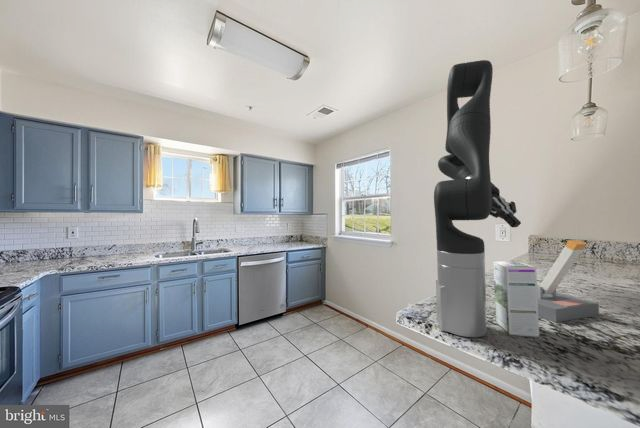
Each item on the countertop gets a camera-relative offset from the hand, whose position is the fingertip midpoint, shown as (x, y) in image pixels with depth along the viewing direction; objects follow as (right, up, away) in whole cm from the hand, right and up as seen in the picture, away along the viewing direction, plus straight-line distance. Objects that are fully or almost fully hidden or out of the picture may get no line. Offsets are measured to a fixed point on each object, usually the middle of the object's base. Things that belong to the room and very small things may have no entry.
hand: (517, 225), depth 70 cm
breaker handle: (+2, -18, -7) cm, 19 cm away
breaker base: (+2, -22, -7) cm, 23 cm away
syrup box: (-15, -22, -18) cm, 32 cm away
